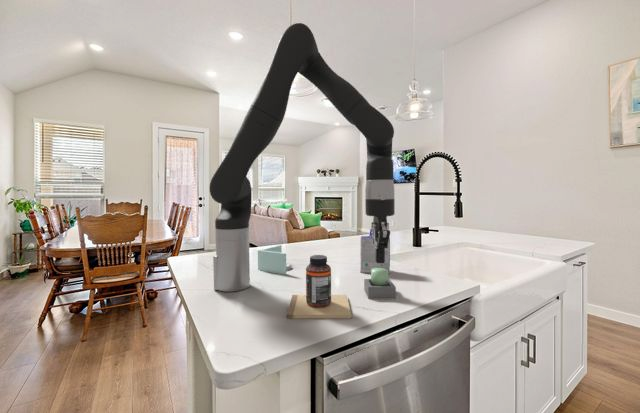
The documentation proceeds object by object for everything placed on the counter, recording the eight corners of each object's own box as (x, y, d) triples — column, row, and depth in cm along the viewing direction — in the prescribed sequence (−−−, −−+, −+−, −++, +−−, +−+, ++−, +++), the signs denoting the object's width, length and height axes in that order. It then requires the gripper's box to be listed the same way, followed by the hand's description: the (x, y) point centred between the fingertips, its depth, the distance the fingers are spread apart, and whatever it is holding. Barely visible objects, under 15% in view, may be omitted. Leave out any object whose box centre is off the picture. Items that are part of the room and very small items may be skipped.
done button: (372, 285, 75) (372, 272, 75) (369, 280, 79) (369, 267, 79) (389, 285, 75) (389, 272, 75) (385, 280, 79) (385, 267, 79)
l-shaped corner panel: (284, 276, 96) (284, 253, 96) (258, 271, 102) (257, 250, 102) (305, 268, 106) (304, 247, 106) (279, 263, 112) (279, 244, 112)
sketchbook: (286, 318, 62) (286, 314, 62) (292, 298, 74) (292, 294, 74) (351, 318, 62) (351, 314, 62) (346, 297, 74) (346, 294, 74)
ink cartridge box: (389, 270, 101) (389, 229, 100) (390, 274, 95) (390, 231, 95) (361, 268, 103) (361, 228, 102) (360, 273, 97) (360, 230, 97)
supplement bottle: (305, 299, 71) (305, 253, 71) (329, 298, 72) (329, 253, 71) (306, 308, 65) (306, 259, 65) (332, 307, 66) (332, 258, 65)
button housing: (368, 298, 74) (368, 287, 74) (364, 289, 81) (364, 278, 81) (395, 298, 74) (395, 287, 73) (389, 289, 81) (389, 278, 80)
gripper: (362, 197, 83) (362, 257, 83) (369, 198, 69) (370, 269, 70) (388, 197, 83) (388, 256, 83) (400, 197, 69) (401, 268, 70)
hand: (380, 262), depth 77 cm, fingers closed
